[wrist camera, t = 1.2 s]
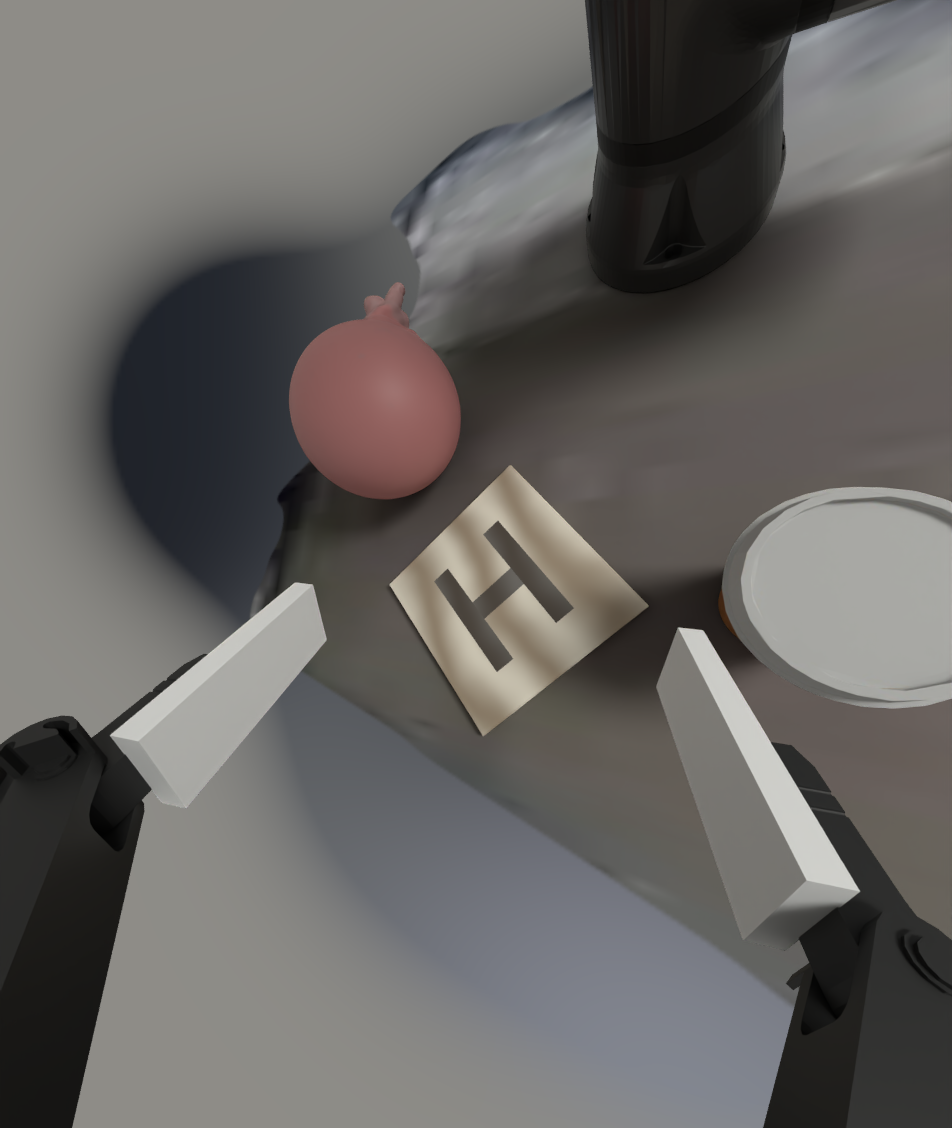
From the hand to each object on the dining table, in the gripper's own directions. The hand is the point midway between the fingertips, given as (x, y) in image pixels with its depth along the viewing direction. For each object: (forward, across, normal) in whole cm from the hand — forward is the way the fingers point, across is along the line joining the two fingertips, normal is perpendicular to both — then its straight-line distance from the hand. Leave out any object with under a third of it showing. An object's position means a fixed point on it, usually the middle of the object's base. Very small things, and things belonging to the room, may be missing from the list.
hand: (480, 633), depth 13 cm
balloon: (+31, -11, +2) cm, 33 cm away
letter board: (+18, -1, -10) cm, 21 cm away
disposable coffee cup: (+14, +19, -6) cm, 24 cm away
